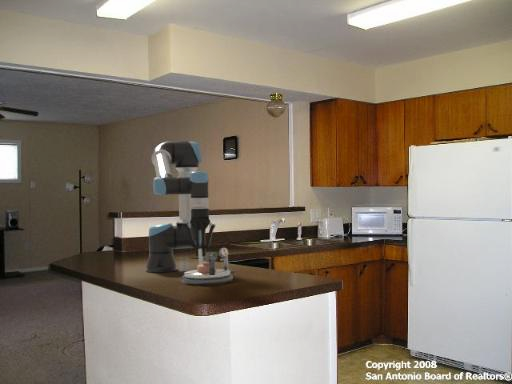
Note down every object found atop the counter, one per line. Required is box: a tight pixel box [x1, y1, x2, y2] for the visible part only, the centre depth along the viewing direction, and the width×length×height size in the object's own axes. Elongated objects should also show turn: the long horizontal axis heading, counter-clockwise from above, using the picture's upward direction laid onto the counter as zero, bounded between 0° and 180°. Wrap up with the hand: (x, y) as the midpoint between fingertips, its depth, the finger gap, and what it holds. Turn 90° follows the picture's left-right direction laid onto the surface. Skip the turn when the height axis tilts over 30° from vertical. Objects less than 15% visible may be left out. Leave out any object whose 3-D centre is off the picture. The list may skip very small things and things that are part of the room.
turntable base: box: [181, 274, 234, 286], centre depth 221 cm, size 22×22×2 cm
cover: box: [196, 261, 217, 274], centre depth 221 cm, size 8×8×4 cm
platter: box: [183, 258, 235, 279], centre depth 222 cm, size 22×20×8 cm
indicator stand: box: [218, 247, 229, 270], centre depth 231 cm, size 5×6×13 cm
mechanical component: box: [203, 251, 218, 262], centre depth 243 cm, size 3×10×10 cm, turn 51°
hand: (201, 264), depth 215 cm, fingers closed
